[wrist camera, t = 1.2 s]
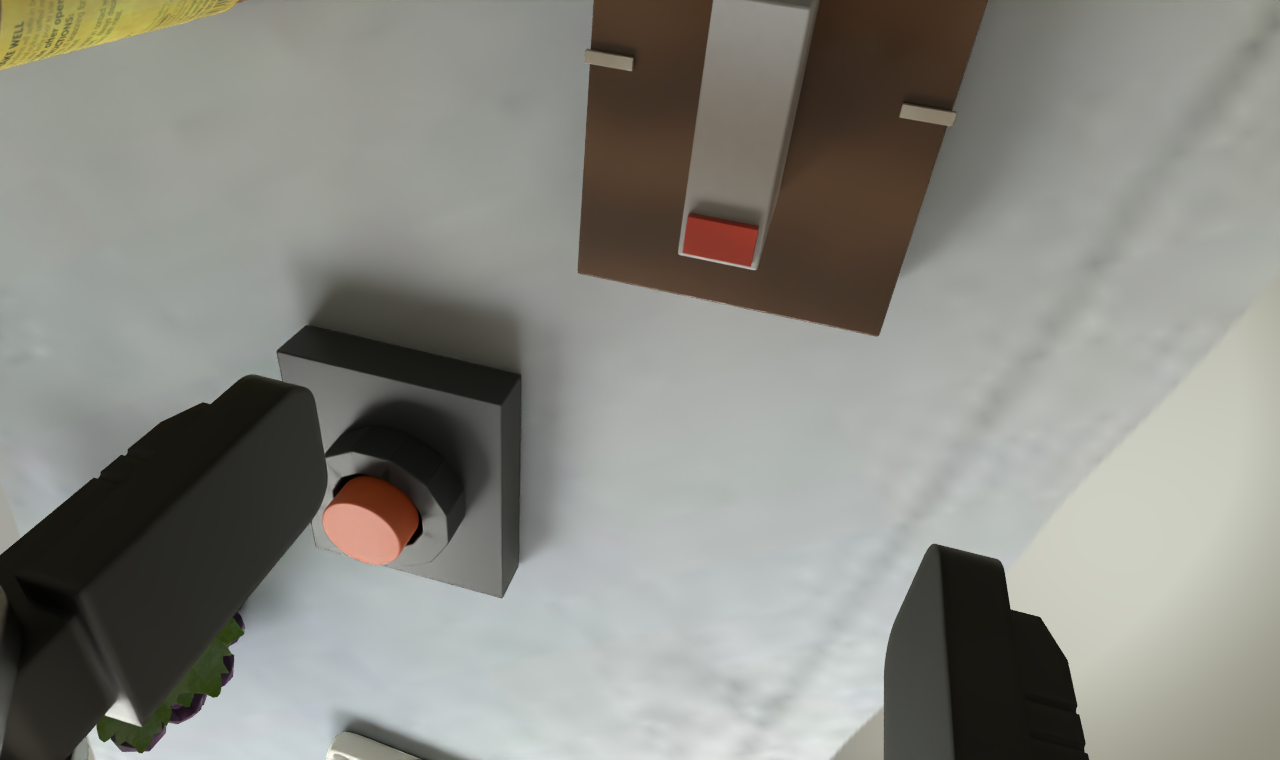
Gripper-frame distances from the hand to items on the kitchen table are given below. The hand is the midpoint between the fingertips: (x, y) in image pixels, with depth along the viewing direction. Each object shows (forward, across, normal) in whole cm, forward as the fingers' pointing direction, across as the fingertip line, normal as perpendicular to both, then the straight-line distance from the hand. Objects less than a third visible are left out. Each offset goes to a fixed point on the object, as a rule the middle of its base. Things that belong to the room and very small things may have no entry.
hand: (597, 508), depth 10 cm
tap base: (+19, 0, -1) cm, 19 cm away
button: (+15, +13, +19) cm, 27 cm away
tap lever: (+16, 0, -1) cm, 16 cm away
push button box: (+19, +13, +19) cm, 29 cm away
